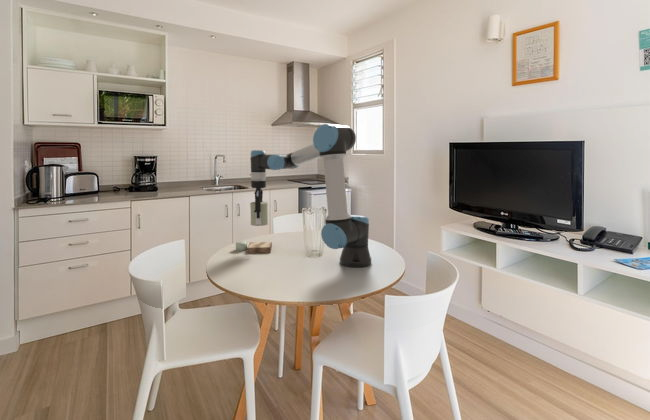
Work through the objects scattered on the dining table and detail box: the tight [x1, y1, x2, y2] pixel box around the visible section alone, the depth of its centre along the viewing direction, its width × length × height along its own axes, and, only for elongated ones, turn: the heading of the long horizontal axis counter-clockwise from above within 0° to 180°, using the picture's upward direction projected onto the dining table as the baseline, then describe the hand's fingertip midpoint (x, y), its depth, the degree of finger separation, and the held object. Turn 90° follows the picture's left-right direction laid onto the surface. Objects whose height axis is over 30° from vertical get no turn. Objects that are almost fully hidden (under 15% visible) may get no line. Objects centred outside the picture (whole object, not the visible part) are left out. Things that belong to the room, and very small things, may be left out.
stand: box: [246, 241, 273, 254], centre depth 196 cm, size 12×12×3 cm
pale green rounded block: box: [235, 240, 248, 252], centre depth 196 cm, size 6×6×4 cm
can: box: [249, 201, 269, 227], centre depth 193 cm, size 9×9×12 cm
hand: (259, 222), depth 194 cm, fingers closed on can, 9 cm apart
